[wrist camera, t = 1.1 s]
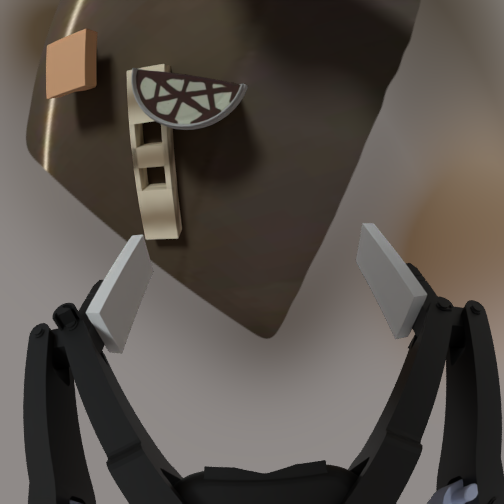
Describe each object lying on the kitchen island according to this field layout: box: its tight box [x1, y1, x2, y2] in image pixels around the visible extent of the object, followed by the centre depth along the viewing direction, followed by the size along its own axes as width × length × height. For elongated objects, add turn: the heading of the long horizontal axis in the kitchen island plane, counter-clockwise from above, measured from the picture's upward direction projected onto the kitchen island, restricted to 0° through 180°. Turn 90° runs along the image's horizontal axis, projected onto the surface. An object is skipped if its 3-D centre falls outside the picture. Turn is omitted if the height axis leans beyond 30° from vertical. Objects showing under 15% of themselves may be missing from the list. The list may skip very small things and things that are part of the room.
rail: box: [127, 64, 182, 239], centre depth 33 cm, size 24×5×3 cm, turn 0°
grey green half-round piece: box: [131, 68, 248, 130], centre depth 27 cm, size 12×6×10 cm, turn 75°
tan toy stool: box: [46, 29, 97, 99], centre depth 23 cm, size 8×6×6 cm
